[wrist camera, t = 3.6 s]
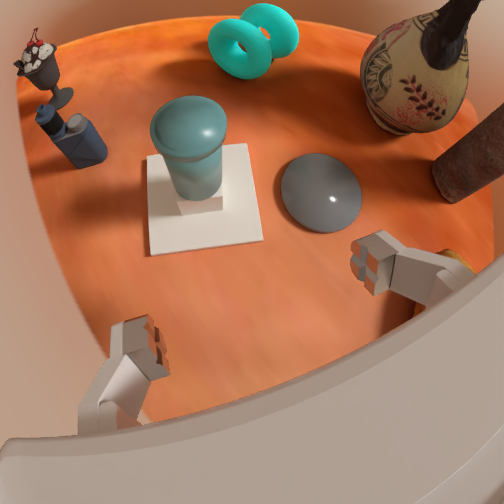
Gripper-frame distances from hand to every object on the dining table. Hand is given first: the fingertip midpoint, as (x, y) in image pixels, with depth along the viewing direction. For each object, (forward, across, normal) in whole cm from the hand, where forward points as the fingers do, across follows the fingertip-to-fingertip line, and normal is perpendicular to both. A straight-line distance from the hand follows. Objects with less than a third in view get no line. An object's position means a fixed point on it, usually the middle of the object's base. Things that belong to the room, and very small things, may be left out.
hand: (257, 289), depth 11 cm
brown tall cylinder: (+18, -35, +10) cm, 41 cm away
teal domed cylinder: (+19, 0, +2) cm, 19 cm away
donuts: (+37, -13, -9) cm, 40 cm away
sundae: (+41, +17, -13) cm, 46 cm away
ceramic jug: (+27, -31, +1) cm, 41 cm away
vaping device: (+30, +12, -2) cm, 32 cm away
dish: (+20, -14, +8) cm, 25 cm away
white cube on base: (+22, 0, +5) cm, 23 cm away
